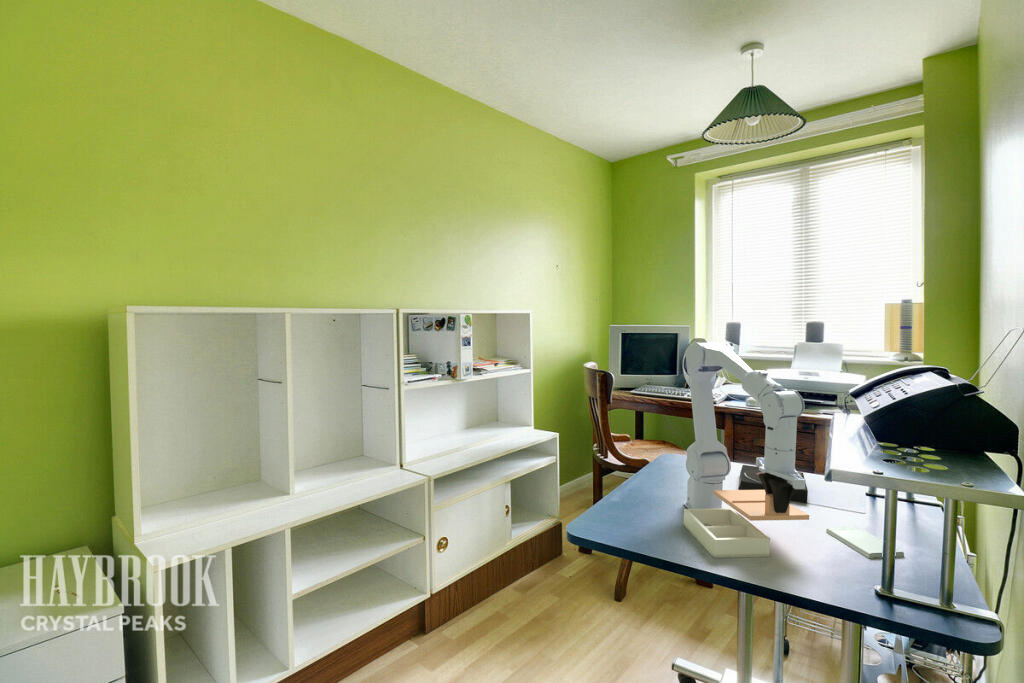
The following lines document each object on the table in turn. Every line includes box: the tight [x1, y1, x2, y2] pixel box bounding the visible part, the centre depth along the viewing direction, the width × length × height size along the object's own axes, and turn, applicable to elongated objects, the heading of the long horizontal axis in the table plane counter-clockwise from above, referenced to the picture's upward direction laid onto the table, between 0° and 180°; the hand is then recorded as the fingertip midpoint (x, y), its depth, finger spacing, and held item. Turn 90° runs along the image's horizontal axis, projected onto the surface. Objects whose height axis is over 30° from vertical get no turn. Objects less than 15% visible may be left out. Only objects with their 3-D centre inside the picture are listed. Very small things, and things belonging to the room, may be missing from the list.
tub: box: [683, 507, 771, 559], centre depth 113 cm, size 16×12×4 cm
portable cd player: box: [737, 464, 809, 504], centre depth 145 cm, size 16×17×4 cm
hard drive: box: [825, 526, 905, 559], centre depth 111 cm, size 2×8×12 cm
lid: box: [714, 489, 810, 522], centre depth 112 cm, size 17×13×5 cm
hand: (777, 510), depth 105 cm, fingers closed on lid
